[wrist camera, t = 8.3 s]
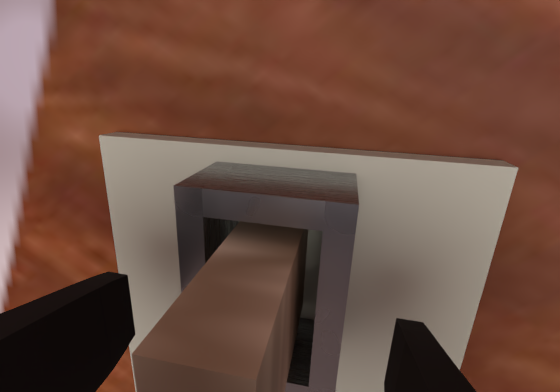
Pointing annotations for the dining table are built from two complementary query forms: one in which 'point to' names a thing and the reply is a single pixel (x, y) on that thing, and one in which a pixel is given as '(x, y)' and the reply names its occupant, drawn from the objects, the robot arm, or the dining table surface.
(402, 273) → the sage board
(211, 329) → the wooden block
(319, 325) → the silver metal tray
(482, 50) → the dining table surface
